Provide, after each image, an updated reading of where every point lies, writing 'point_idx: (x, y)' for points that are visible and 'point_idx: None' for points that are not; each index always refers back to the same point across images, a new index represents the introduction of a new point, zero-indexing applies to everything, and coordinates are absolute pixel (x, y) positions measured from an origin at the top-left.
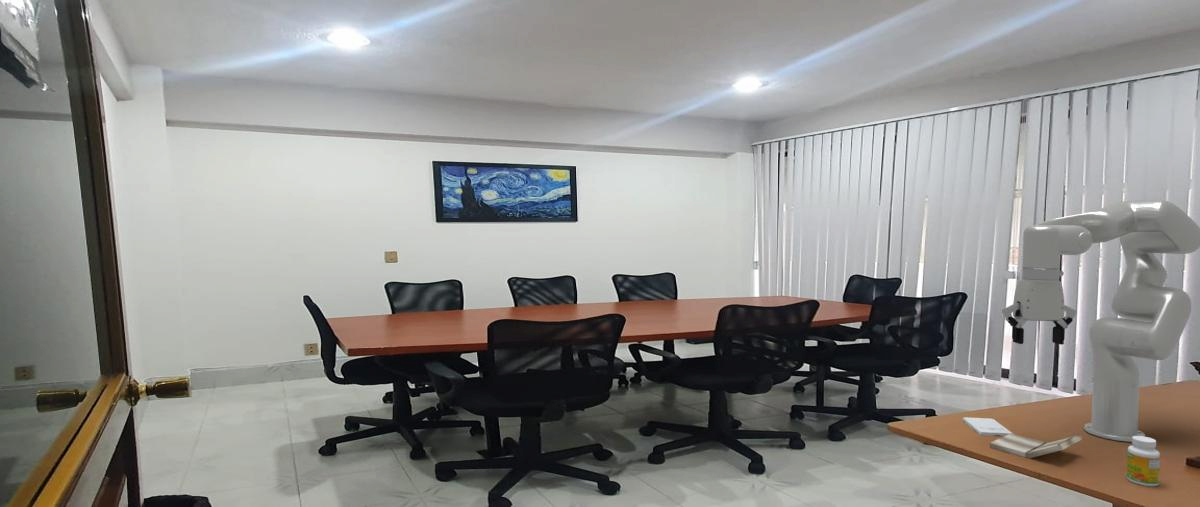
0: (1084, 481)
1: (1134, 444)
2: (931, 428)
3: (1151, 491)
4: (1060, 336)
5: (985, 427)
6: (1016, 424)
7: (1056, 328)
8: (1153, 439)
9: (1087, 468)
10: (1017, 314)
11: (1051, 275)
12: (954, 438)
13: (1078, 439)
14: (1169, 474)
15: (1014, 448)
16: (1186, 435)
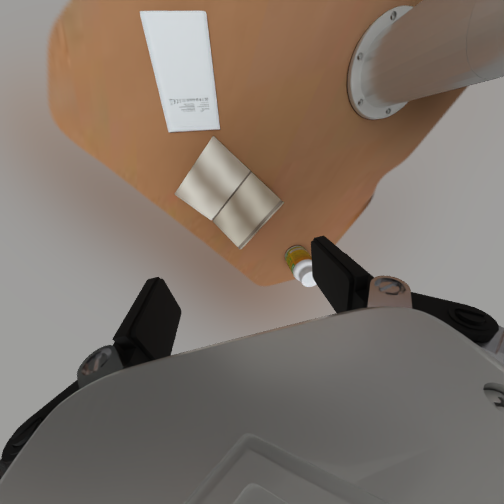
0: (245, 266)
1: (299, 277)
2: (84, 105)
3: (288, 272)
4: (326, 297)
5: (179, 97)
6: (247, 28)
7: (346, 299)
8: None
9: (264, 235)
10: (86, 405)
11: None
12: (128, 160)
13: (275, 211)
14: (331, 230)
15: (202, 208)
16: None
